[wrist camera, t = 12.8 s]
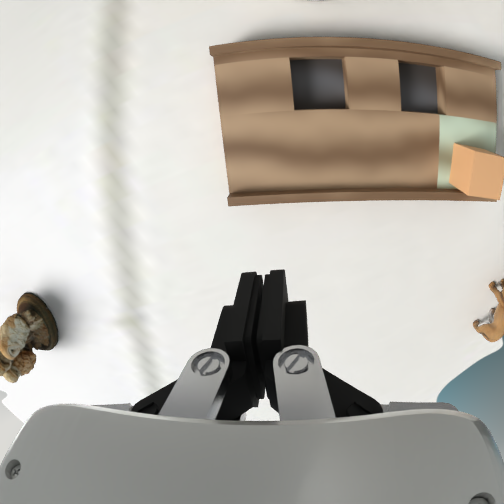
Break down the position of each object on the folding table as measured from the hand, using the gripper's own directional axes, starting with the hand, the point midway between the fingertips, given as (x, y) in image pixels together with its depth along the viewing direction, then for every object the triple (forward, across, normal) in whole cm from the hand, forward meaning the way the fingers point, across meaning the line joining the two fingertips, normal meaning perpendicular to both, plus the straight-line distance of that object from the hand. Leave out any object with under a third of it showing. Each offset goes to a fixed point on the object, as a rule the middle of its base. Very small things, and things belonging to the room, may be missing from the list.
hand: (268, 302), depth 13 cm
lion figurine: (+28, -34, +24) cm, 50 cm away
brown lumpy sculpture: (+28, +56, +24) cm, 67 cm away
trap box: (+28, -11, -5) cm, 30 cm away
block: (+24, -23, +1) cm, 34 cm away
